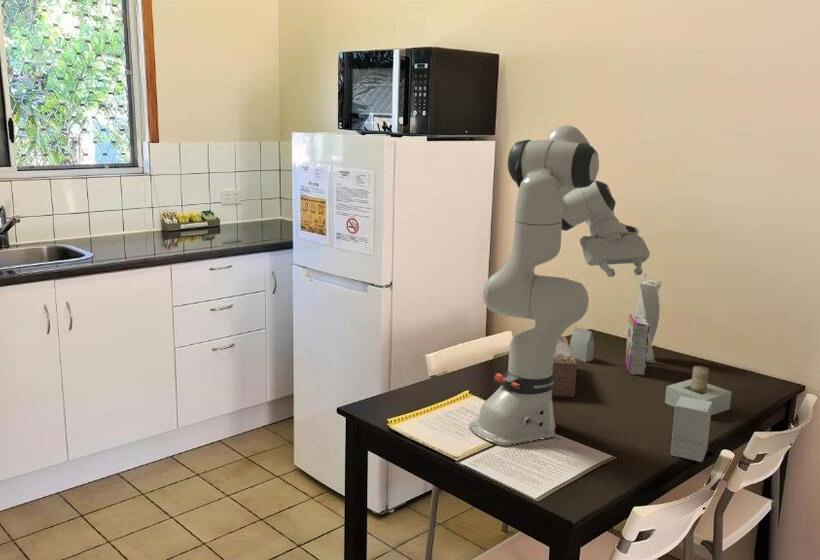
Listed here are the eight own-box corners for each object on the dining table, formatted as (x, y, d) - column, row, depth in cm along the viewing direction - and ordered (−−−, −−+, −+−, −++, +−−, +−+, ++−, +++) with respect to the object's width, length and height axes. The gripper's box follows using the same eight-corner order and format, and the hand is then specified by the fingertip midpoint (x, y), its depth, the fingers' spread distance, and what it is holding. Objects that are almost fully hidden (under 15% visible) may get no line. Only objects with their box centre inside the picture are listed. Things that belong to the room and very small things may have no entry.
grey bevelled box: (585, 362, 236) (587, 332, 234) (569, 356, 241) (571, 327, 239) (592, 360, 238) (595, 330, 236) (576, 354, 244) (578, 325, 241)
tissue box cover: (574, 397, 207) (576, 363, 205) (522, 394, 208) (524, 361, 206) (563, 366, 232) (565, 336, 230) (517, 364, 234) (519, 334, 231)
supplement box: (707, 451, 175) (713, 401, 172) (702, 463, 169) (708, 411, 166) (675, 443, 179) (680, 394, 176) (669, 455, 173) (674, 404, 170)
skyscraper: (624, 355, 245) (632, 273, 239) (647, 354, 246) (655, 272, 240) (636, 363, 237) (644, 279, 231) (659, 362, 238) (668, 278, 232)
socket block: (702, 418, 194) (704, 400, 193) (664, 403, 204) (666, 386, 203) (729, 409, 201) (731, 391, 200) (691, 394, 210) (693, 378, 209)
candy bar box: (623, 363, 237) (628, 313, 233) (640, 364, 236) (644, 314, 232) (628, 374, 226) (633, 323, 222) (645, 376, 225) (650, 324, 221)
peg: (698, 410, 200) (702, 371, 197) (685, 405, 203) (690, 367, 200) (707, 407, 202) (712, 369, 199) (694, 402, 205) (699, 364, 203)
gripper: (582, 230, 210) (600, 270, 203) (642, 227, 217) (660, 266, 210) (573, 242, 215) (589, 282, 208) (631, 240, 222) (649, 278, 215)
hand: (625, 274), depth 209 cm, fingers open, 8 cm apart
